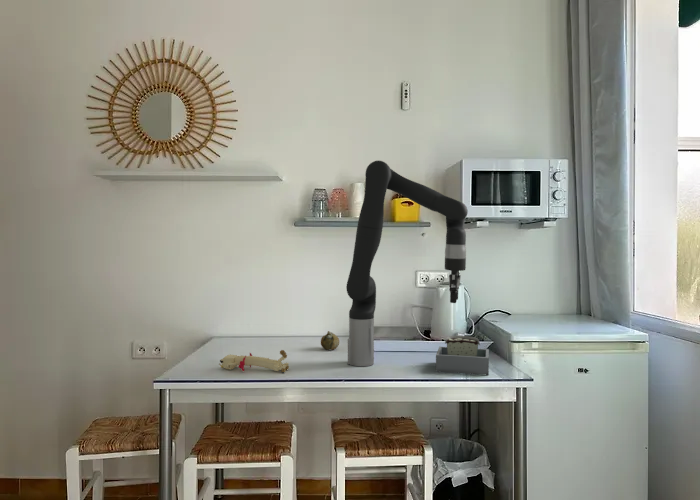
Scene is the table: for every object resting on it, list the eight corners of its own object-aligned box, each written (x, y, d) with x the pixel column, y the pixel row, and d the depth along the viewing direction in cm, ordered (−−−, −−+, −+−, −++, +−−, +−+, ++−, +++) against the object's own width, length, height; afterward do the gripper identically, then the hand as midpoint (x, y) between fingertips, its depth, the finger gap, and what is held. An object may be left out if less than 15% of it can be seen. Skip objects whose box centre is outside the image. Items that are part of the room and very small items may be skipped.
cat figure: (290, 371, 197) (225, 363, 201) (291, 348, 196) (226, 339, 201) (281, 379, 187) (213, 369, 192) (283, 354, 187) (215, 345, 191)
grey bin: (435, 371, 191) (435, 355, 191) (439, 362, 205) (439, 346, 204) (488, 375, 187) (488, 358, 186) (488, 365, 200) (488, 349, 200)
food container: (479, 363, 199) (479, 336, 199) (479, 367, 193) (480, 339, 193) (445, 361, 201) (445, 335, 201) (444, 365, 195) (444, 338, 195)
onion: (343, 350, 226) (343, 330, 225) (326, 352, 221) (326, 332, 221) (333, 346, 232) (333, 328, 232) (317, 349, 227) (317, 330, 227)
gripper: (464, 258, 190) (463, 304, 190) (466, 256, 203) (465, 299, 204) (443, 257, 191) (441, 303, 192) (446, 255, 205) (445, 298, 206)
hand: (454, 301), depth 198 cm, fingers open, 8 cm apart
